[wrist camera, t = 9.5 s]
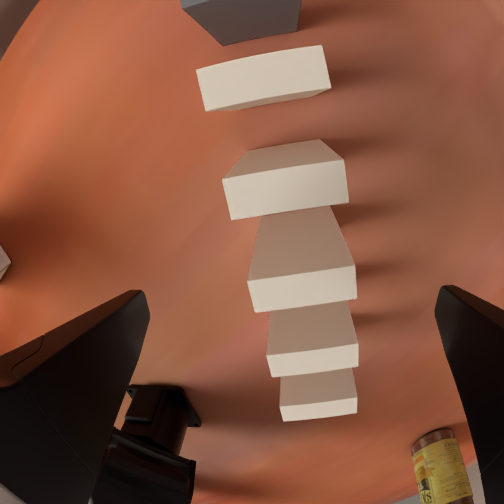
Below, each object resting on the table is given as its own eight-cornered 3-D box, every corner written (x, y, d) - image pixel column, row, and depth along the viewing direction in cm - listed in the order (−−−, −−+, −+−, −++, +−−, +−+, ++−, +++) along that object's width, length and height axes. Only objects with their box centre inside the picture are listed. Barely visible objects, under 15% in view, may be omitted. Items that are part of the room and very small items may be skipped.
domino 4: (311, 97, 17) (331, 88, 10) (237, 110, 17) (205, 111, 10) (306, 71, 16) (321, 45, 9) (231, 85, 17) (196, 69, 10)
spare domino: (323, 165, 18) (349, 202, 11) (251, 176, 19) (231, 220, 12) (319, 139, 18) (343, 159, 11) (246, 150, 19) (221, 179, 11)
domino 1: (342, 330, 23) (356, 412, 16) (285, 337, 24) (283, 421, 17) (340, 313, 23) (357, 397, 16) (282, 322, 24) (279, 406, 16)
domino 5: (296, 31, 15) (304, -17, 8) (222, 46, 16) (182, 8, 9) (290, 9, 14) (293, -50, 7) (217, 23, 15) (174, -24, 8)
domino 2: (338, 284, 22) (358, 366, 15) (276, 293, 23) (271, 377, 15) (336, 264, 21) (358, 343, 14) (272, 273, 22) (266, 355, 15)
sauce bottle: (406, 439, 30) (429, 580, 12) (453, 419, 28) (489, 557, 11) (412, 457, 32) (431, 579, 14) (453, 440, 31) (482, 560, 13)
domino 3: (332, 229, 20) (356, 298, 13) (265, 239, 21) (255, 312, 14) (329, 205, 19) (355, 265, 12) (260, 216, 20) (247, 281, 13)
